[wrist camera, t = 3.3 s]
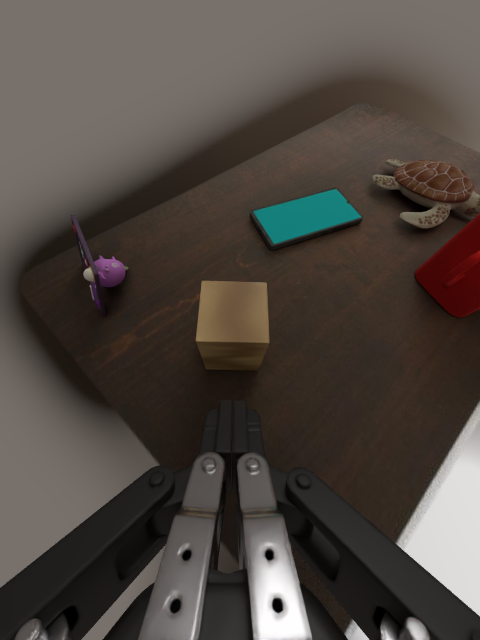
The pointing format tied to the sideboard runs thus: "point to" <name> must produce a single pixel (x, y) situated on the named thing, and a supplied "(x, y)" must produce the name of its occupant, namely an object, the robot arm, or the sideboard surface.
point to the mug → (455, 272)
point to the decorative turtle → (431, 190)
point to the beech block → (233, 325)
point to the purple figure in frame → (98, 269)
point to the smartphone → (304, 218)
